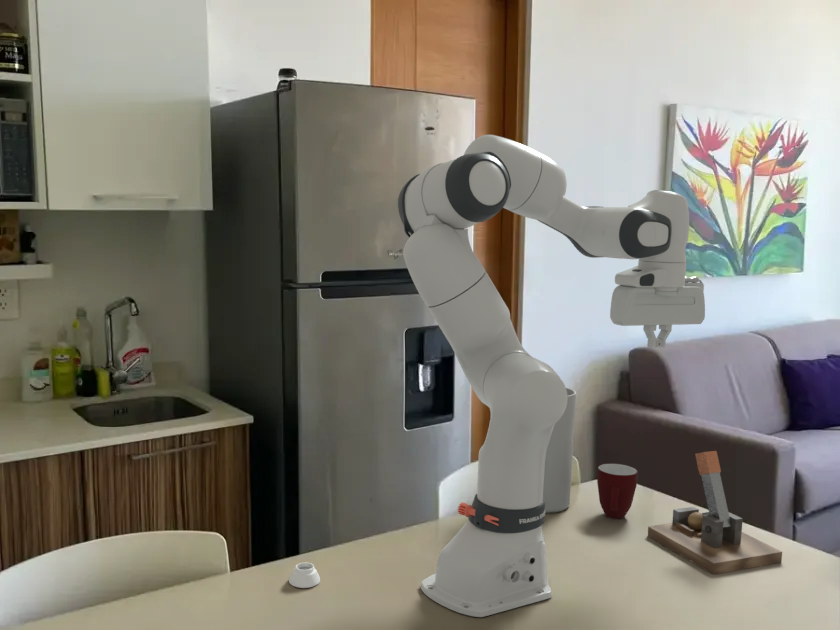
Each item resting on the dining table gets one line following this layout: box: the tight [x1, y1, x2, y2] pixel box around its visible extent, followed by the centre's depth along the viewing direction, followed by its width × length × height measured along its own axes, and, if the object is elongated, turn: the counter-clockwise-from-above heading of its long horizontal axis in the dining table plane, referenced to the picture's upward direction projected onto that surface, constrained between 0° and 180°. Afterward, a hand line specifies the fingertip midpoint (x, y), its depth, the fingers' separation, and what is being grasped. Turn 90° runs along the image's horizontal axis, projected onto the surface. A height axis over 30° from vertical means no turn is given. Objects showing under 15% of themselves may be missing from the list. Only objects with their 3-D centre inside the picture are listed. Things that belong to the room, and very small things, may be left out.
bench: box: [647, 506, 783, 575], centre depth 153 cm, size 16×18×7 cm
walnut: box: [688, 512, 703, 531], centre depth 157 cm, size 4×4×4 cm
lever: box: [694, 450, 731, 527], centre depth 154 cm, size 3×5×14 cm, turn 23°
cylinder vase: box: [543, 387, 577, 514], centre depth 173 cm, size 12×12×25 cm
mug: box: [596, 463, 638, 520], centre depth 167 cm, size 11×8×10 cm
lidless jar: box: [288, 561, 321, 589], centre depth 133 cm, size 5×3×5 cm
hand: (656, 347), depth 156 cm, fingers closed
